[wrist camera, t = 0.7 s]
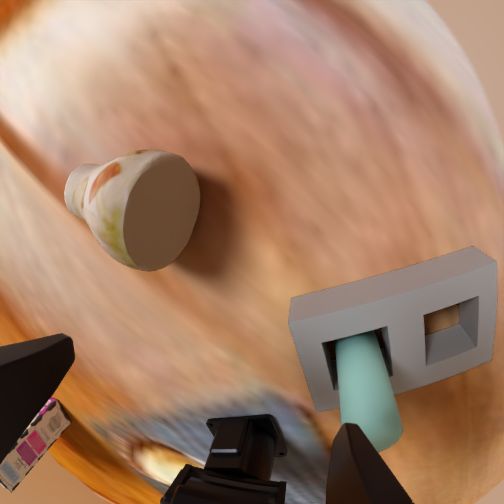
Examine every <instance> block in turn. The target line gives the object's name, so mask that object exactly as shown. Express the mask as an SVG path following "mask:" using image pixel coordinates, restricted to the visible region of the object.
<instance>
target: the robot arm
mask: <svg viewBox="0 0 504 504" xmlns="http://www.w3.org/2000/svg"><path fill="white" fill-rule="evenodd" d="M74 360H75V352H74V346H73V340H72V338H71V337H69V336H67V335H65V334H63V333H60V334H56V335H51V336H47V337H43V338H38V339H34V340H29V341H24V342H20V343H15V344H10V345H6V346H1V347H0V465H1V463H2V462H3V460H4V459H5V457H6V456H7V455H8V453H9V452H10V450H11V449H12V448H13V446H14V445H15V444H16V442H17V441H18V439H19V438H20V437H21V435H22V434H23V433H24V431H25V430H26V429H27V427H28V426H29V425H30V423H31V422H32V421H33V419H34V418H35V417H36V416H37V414H38V413H39V412H40V410H41V409H42V408H43V406H44V405H45V404H46V403H47V401H48V400H49V399H50V398H51V396H52V395H53V394H54V392H55V391H56V389H57V388H58V386H59V384H60V383H61V381H62V380H63V378H64V377H65V375H66V373H67V372H68V370H69V369H70V367H71V366H72V364H73V362H74ZM265 419H267V420H265ZM206 425H207V426H208V428H209V430H210V431H211V433H212V434H213V436H214V439H213V442H212V445H211V447H210V453H209V456H208V459H207V461H206V464H205V467H204V469H202V468H198V467H194V466H192V465H190V464H186V465H185V466H184V468H183V469H181V471H180V472H179V474H178V475H177V477H176V478H175V480H174V481H173V483H172V484H171V486H170V487H169V489H168V490H167V492H166V493H165V495H164V496H163V497H162V498H161V500H160V504H284V503H285V493H286V482H285V481H280V482H276V481H270V478H271V472H272V467H273V461H274V457H282V456H286V455H287V450H286V447H285V445H284V443H283V441H282V439H281V437H280V434H279V432H278V430H277V428H276V426H275V423H274V421H273V419H272V417H271V416H270V415H256V416H245V417H232V418H215V419H208V420H207V423H206ZM326 504H415V503H412V499H411V498H410V497H409V495H408V494H407V493H406V491H405V490H404V488H403V487H402V486H401V484H400V483H399V481H398V480H397V479H396V477H395V476H394V474H393V473H392V472H391V470H390V469H389V467H388V466H387V465H386V463H385V462H384V460H383V459H382V458H381V456H380V455H379V453H378V452H377V451H376V449H375V448H374V446H373V445H372V443H371V442H370V441H369V439H368V438H367V436H366V435H365V434H364V432H363V431H362V429H361V428H360V426H359V425H358V424H356V423H348V422H345V423H344V424H343V425H342V426H341V428H340V430H339V431H338V433H337V435H336V436H335V438H334V440H333V444H332V451H331V458H330V465H329V472H328V479H327V487H326Z"/></svg>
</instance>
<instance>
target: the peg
mask: <svg viewBox="0 0 504 504" xmlns="http://www.w3.org/2000/svg"><path fill="white" fill-rule="evenodd" d="M334 342H335V352H336V362H337V373H338V385H339V398H340V412H341V426H342V425H343V424H344V423H345V422H348V423H356V424H358V425H359V426H360V428H361V429H362V431H363V432H364V434H365V435H366V436H367V438H368V439H369V441H370V442H371V443H372V445H373V446H374V448H375V449H376V451H377V452H380V451H383V450H385V449H387V448H389V447H391V446H392V445H393V444H395V443H396V442H397V441H398V440H399V438H400V437H401V435H402V432H403V427H402V423H401V419H400V415H399V412H398V408H397V404H396V400H395V397H394V393H393V389H392V386H391V382H390V379H389V376H388V372H387V369H386V366H385V362H384V359H383V356H382V353H381V350H380V346H379V343H378V340H377V337H376V334H375V331H374V330H371V331H367V332H363V333H360V334H356V335H352V336H348V337H344V338H340V339H335V340H334Z"/></svg>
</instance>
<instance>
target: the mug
mask: <svg viewBox="0 0 504 504" xmlns="http://www.w3.org/2000/svg"><path fill="white" fill-rule="evenodd" d="M64 194H65V202H66V205H67V207H68V209H69V210H70V212H71V213H72V214H74V215H75V216H77V217H79V218H82V219H84V220H85V221H86V222H87V224H88V226H89V227H90V229H91V231H92V233H93V234H94V236H95V238H96V239H97V241H98V242H99V244H100V245H101V247H102V248H103V249H104V250H105V251H106V252H107V253H108V254H109V255H110V256H111V257H112V258H113V259H115V260H116V261H118V262H120V263H121V264H124V265H126V266H128V267H130V268H134V269H138V270H142V271H156V270H159V269H162V268H164V267H166V266H167V265H169V264H170V263H171V262H173V261H174V260H175V259H176V258H177V257H178V256H179V254H180V253H181V251H182V250H183V249H184V247H185V246H186V245H187V243H188V241H189V239H190V236H191V235H192V231H193V228H194V225H195V222H196V219H197V217H198V213H199V207H200V188H199V184H198V180H197V177H196V174H195V172H194V171H193V170H192V168H191V166H190V165H189V163H187V162H186V160H185V159H184V158H183V157H181V156H179V155H176V154H173V153H169V152H165V151H161V150H139V151H135V152H131V153H128V154H125V155H123V156H121V157H119V158H116V159H114V160H113V161H111V162H109V163H107V164H105V165H96V164H83V165H81V166H79V167H77V168H76V169H75V170H74V171H73V172H72V173H71V175H70V176H69V178H68V181H67V183H66V187H65V193H64Z"/></svg>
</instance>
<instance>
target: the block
mask: <svg viewBox="0 0 504 504" xmlns="http://www.w3.org/2000/svg"><path fill="white" fill-rule="evenodd" d="M457 303H459V324H457V325H454V326H452V327H449V328H446V329H443V330H440V331H437V332H434V333H431V334H428V335H425V332H424V317H423V315H425V314H428V313H431V312H434V311H437V310H440V309H443V308H446V307H449V306H452V305H455V304H457ZM496 312H497V261H496V260H494V259H493V258H491V257H490V256H488V255H487V254H485V253H483V252H482V251H480V250H479V249H477V248H475V247H474V246H472V247H469V248H466V249H462V250H459V251H456V252H453V253H450V254H447V255H444V256H441V257H438V258H434V259H431V260H428V261H425V262H422V263H418V264H415V265H412V266H408V267H405V268H401V269H398V270H395V271H391V272H388V273H384V274H381V275H377V276H374V277H370V278H366V279H363V280H359V281H355V282H352V283H348V284H344V285H340V286H337V287H333V288H329V289H325V290H321V291H317V292H313V293H309V294H305V295H301V296H297V297H293V298H291V304H290V311H289V319H288V324H289V328H290V331H291V334H292V337H293V340H294V343H295V346H296V350H297V353H298V356H299V359H300V362H301V365H302V369H303V372H304V375H305V378H306V381H307V384H308V388H309V391H310V394H311V397H312V400H313V404H314V407H315V410H316V412H322V411H327V410H332V409H337V408H340V398H339V385H338V373H337V362H336V360H334V361H332V360H331V356H330V352H329V348H328V344H327V341H331V340H335V339H340V338H344V337H348V336H352V335H356V334H360V333H363V332H367V331H371V330H375V329H378V328H381V330H382V337H383V344H384V348H382V349H380V350H381V353H382V356H383V359H384V362H385V366H386V369H387V372H388V376H389V379H390V382H391V386H392V389H393V393H394V395H396V394H399V393H403V392H406V391H410V390H413V389H416V388H419V387H422V386H425V385H428V384H431V383H434V382H437V381H440V380H443V379H446V378H448V377H451V376H454V375H456V374H459V373H462V372H464V371H467V370H469V369H472V368H474V367H476V366H479V365H481V364H483V363H486V362H488V361H490V360H492V355H493V347H494V337H495V326H496Z"/></svg>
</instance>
